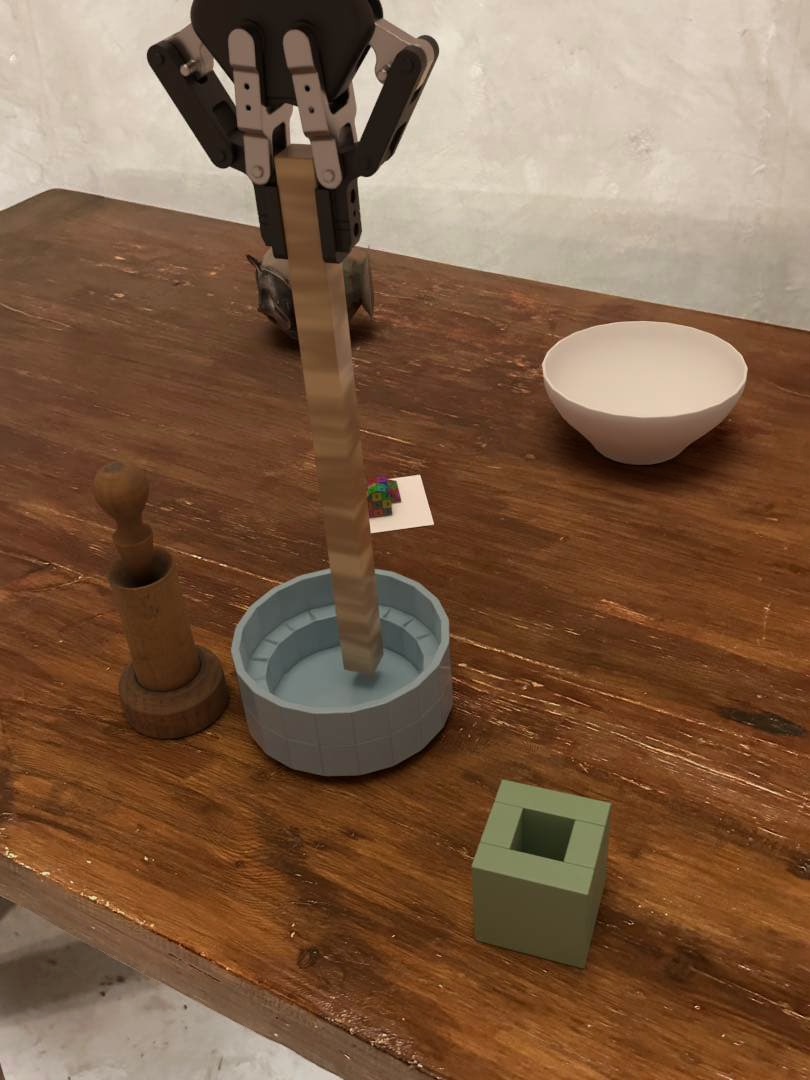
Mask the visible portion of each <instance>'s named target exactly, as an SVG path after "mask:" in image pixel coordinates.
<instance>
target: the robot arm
mask: <svg viewBox="0 0 810 1080" xmlns="http://www.w3.org/2000/svg"><path fill="white" fill-rule="evenodd" d="M189 19H190V23H189V24H188V25H186V26H185V27H184V28H182V29H181V30H179V31H177V32H175V33H173V34H171V35H170V36H167V37H165V38H163V39H162V40H160V41H158V42H156V43H154V44H152V45H150V46H149V47H148V49H147V51H146V61H147V63H148V65H149V67H150V68H151V71H153V74H154V75H155V76H156V78H157V79H158V81H159V82H160V84H161V86H162V87H163V89H164V90H165V92H166V94H167V95H168V97H169V98H170V100H171V101H172V103H173V104H174V106H175V108H176V109H177V110H178V112H179V114H180V115H181V117H182V118H183V120H184V121H185V123H186V125H187V126H188V127H189V129H190V131H191V132H192V134H193V135H194V137H195V138H196V140H197V141H198V143H199V145H200V146H201V148H202V149H203V151H204V153H205V154H206V155H207V157H208V159H209V160H210V161H211V163H212V164H213V165H214V166H215V168H218V169H222V170H225V169H228V168H231V169H234V170H236V171H238V172H241V173H242V174H244V175H246V176H247V178H248V179H249V180H250V181H251V183H252V187H253V191H254V199H255V204H256V211H257V219H258V223H259V225H258V226H259V231H260V238H261V239H262V241H263V243H264V244H265V246H266V247H270V248H271V247H272V252H273V256H274V258H276V259H286V260H288V257H287V249H286V242H285V235H284V227H283V220H282V213H281V206H280V198H279V191H278V185H277V178H276V170H275V163H274V157H275V156H276V155H278V154H279V153H280V152H281V151H283V150H284V149H285V148H286V147H288V146H289V145H290V144H292V143H291V125H290V124H291V118H292V115H293V112H294V107H297V109H298V114H299V119H300V124H301V129H302V133H303V135H304V137H305V138H307V139H308V140H309V143H310V144H311V149H312V154H313V159H314V164H315V169H316V174H317V179H318V181H319V182H320V184H321V185H320V186H319V187H318V188H315V189H314V190H315V198H316V207H317V215H318V224H319V232H320V240H321V249H322V257H323V261H324V262H325V263H334V264H340V263H341V262H342V261H343V260H344V259H345V258H346V257H347V256H348V257H349V255H350V253H351V252H352V251H353V249H354V248H355V246H356V245H357V244H358V243H359V242H360V240H361V236H362V233H363V225H362V224H363V223H362V216H361V214H362V213H361V205H360V195H359V194H360V193H359V185H358V184H359V183H358V181H359V178H360V177H363V178H371V177H372V176H374V175H375V174H376V173H377V172H378V171H379V170H380V168H381V166H382V165H384V163H386V162H388V161H389V160H390V159H391V158H392V157H393V156H394V155H395V153H396V151H397V149H398V147H399V144H400V142H401V141H402V138H403V135H404V134H405V132H406V129H407V126H408V124H409V122H410V120H411V118H412V116H413V113H414V111H415V109H416V107H417V104H418V102H419V100H420V98H421V96H422V93H423V92H424V90H425V87H426V85H427V82H428V80H429V78H430V76H431V74H432V71H433V70H434V67H435V65H436V64H437V63H436V62H437V60H438V58H439V56H440V46H439V43H438V42H437V40H436V39H435V38H434V37H433V36H431V35H428V34H422V35H419V36H417V37H414V36H412V35H411V34H409V33H408V32H407V31H405V30H403V29H401V28H400V27H398V26H396V25H395V24H393V23H391V22H390V21H388V20H386V19H385V18H384V10H383V5H382V2H381V0H192V3H191V6H190V12H189ZM370 49H372V50H373V51H374V52H373V53H374V55H375V65H374V75H375V78H376V79H377V81H378V82H379V83H380V84H382V87H381V89H380V91H379V94H378V96H377V99H376V101H375V103H374V106H373V108H372V111H371V113H370V116H369V117H368V120H367V122H366V124H365V127H364V130H363V132H362V134H361V136H360V138H359V141H358V135H357V129H356V116H357V101H356V96H355V95H356V94H355V89H354V84H353V80H354V78H355V76H356V75H357V73H358V71H359V69H360V67H361V65H362V64H363V62H364V60H365V59H366V57H367V55H368V54H369V52H370ZM214 60H215V61H216V63H217V65H219V66H220V68H221V70H222V71H223V72H224V74H226V76H227V77H228V78H229V80H230V81H231V82H232V84H233V88H234V99H235V101H233V99H232V98H231V96H230V94H229V93H228V91H227V89H226V87H224V85H223V83H222V81H221V80H220V78H219V77H218V75H217V73H216V72H215V70H214V66H215V61H214ZM234 102H235V103H234ZM3 1070H4V1069H3V1068H2V1063H0V1080H6V1077H5V1074H4V1071H3Z"/></svg>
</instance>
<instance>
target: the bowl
mask: <svg viewBox="0 0 810 1080" xmlns="http://www.w3.org/2000/svg"><path fill="white" fill-rule="evenodd" d="M541 370H542V376H543V385H544V389H545V392H546V394H547V396H548V398H549V401H551V403H552V404H553V406H554V407H555V408H556V410H557V412H558V413H559V415H560V416H561V417H562V419H564V421H565V422H566V423H567V424H568V425H569V426H570V427H572V428H574V429H575V430H576V431H577V432H578V433H580V435H582V436H583V437H584V438H585V439H586V440H587V441H588V442H589V443H590V444H591V445H592V446H593V447H594V449H595V450H596V451H597V452H598V453H600V454H601V455H602V456H603V457H605V458H608V459H609V460H612V461H615V462H616V463H617V462H618V463H621V464H626V465H634V466H648V465H649V466H650V465H655V464H661V463H664V462H667V461H670V460H671V459H674V458H675V457H677V456H678V455H680V454H681V453H682V452H683V451H684V450H686V448H687V447H689V445H691V444H692V443H694V442H696V441H697V440H698V439H700V438H701V437H703V436H705V435H706V434H708V433H709V432H711V431H712V430H713V429H714V428H716V427H717V426H718V425H720V424H721V423H722V422H723V421H724V420H725V419H726V418H727V417H728V415H729V414H730V413H731V412H732V411H733V409H734V407H735V406H736V405H737V404H738V402H739V400H740V399H741V397H742V395H743V394H744V390H745V387H746V383H747V377H748V370H749V367H748V366H747V364H746V361H745V359H744V357H743V355H742V354H741V353H740V351H738V350H737V349H736V348H735V347H734V346H733V345H732V344H731V343H729V342H728V341H725V340H724V339H722V338H720V337H719V336H717V335H715V334H713V333H710V332H707V331H704V330H702V329H698V328H695V327H692V326H687V325H681V324H678V323H677V324H676V323H672V322H662V321H651V320H650V321H649V320H648V321H647V320H636V321H635V320H632V321H617V322H611V323H605V324H600V325H599V324H598V325H594V326H591V327H587V328H584V329H581V330H578V331H575V332H573V333H571V334H569V335H567V336H565V337H564V338H562V339H560V340H558V341H557V342H556V343H555V344H554V345H553V346H552V347H551V348H550V349H548V351H547V352H546V354H545V356H544V359H543V361H542V363H541Z"/></svg>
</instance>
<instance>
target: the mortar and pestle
mask: <svg viewBox="0 0 810 1080" xmlns="http://www.w3.org/2000/svg"><path fill="white" fill-rule="evenodd" d="M92 493H93V497H94V500H95V502H96V503H97V505H98V506H99V507H100V508H101V509H102V511H104V512H105V513H106V514H107V515H109V516H110V517H111V518H112V519H113V520H114V521H115V524H116V529H115V531H114V532H113V533H112V536H111V537H112V538H111V539H112V542H113V545H114V547H115V549H116V550H117V552H118V554H119V555H120V556H118V557H117V558H115V559H114V561H112V562H111V564H110V566H109V567H108V569H107V580H108V582H109V587H110V590H111V592H112V596H113V599H114V602H115V606H116V608H117V612H118V616H119V618H120V622H121V625H122V629H123V633H124V636H125V639H126V642H127V646H128V650H129V654H130V657H131V661H130V662H129V663H128V664H127V665H126V666H125V667H124V669H123V670H122V672H121V674H120V676H119V679H118V683H117V689H118V696H119V700H120V703H121V706H122V711H123V714H124V717H125V720H126V721H127V723H128V724H129V725H130V727H132V729H133V730H135V731H136V732H138V733H140V734H141V735H144V736H146V737H149V738H154V739H159V740H162V739H163V740H173V739H181V738H185V737H188V736H192V735H193V734H196V733H199V732H201V731H202V730H204V729H207V727H208V726H210V725H211V724H213V723H214V722H215V721H216V720H217V719H218V718H219V717H220V716H221V714H223V711H224V710H225V708H226V706H227V703H228V699H229V687H228V683H227V680H226V676H225V672H224V667H223V664H222V662H221V660H220V659H219V657H218V656H217V655H216V653H215V652H213V651H212V650H211V649H209V648H207V647H206V646H203V645H200V644H197V643H195V639H194V635H193V632H192V627H191V624H190V619H189V615H188V611H187V607H186V603H185V602H186V601H185V598H184V594H183V589H182V585H181V581H180V577H179V572H178V567H177V563H176V559H175V557H174V555H173V553H172V552H170V551H169V550H167V548H166V549H165V548H163V547H160V546H159V547H158V546H154V530H153V528H152V527H151V525H149V524H148V523H144V521H143V516H142V515H143V512H144V510H145V507H146V505H147V501H148V499H149V495H150V483H149V479H148V477H147V476H146V474H145V472H144V471H143V470H142V468H140V467H139V466H138V465H137V464H135V463H133V462H131V461H127V460H117V461H113V462H109V463H107V464H105V465H103V466H102V467H101V468H100V469H99V470H98V471H97V472H96V474H95V476H94V478H93V481H92Z"/></svg>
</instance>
